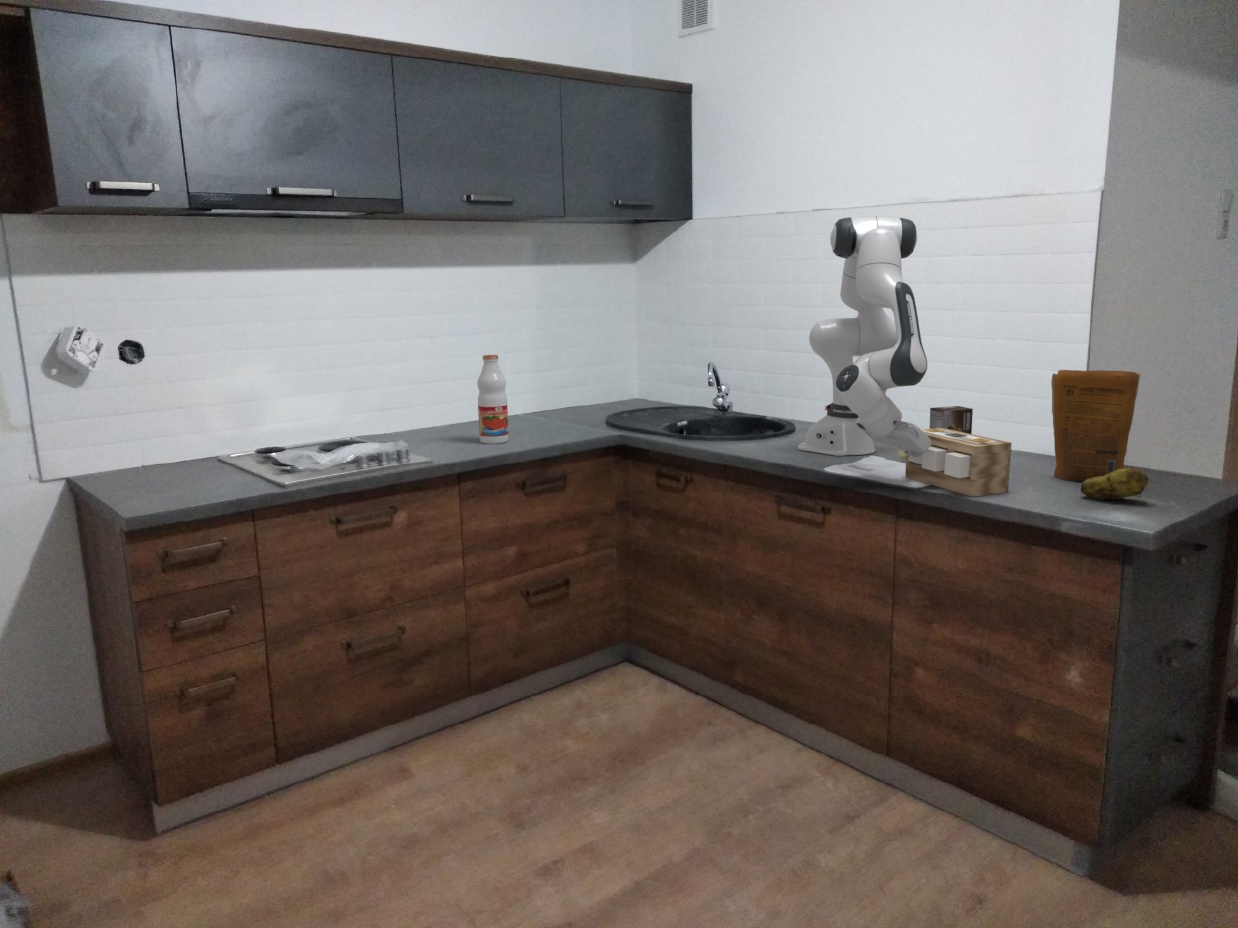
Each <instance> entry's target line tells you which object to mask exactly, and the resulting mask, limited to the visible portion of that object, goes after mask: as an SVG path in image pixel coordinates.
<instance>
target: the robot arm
mask: <svg viewBox="0 0 1238 928" xmlns="http://www.w3.org/2000/svg"><path fill="white" fill-rule="evenodd" d="M917 241H918V232H917V227H916V224H915V223H914V221H913V220H911V219H909V218H904V217H900V218H895V217H889V216H862V217H861V216H860V217H854V218H853V217H851V216H850V217H844V218H840V219H838V220H837V221H836V222H835V224H834V226H833V227H832V230H831V233H830V246H831V248H832V253H833V254H834V255H835V256H836V257H838V258H843V259H845V260H844V263H843V270H842V278H841V285H840V291H839V292H840V294H839V295H840V299H841V301H842V302H843V304H844V305H846V307H848V308H850V309H852V310H854V311H857V317H843V318H838V317H836V318H828V319H823V320H819V321H816V323H815V324H814V325H813V326H812V327H811V329H810V332H809V338H808V339H809V340H808V341H809V345H810V347H811V350H812V351H813V352H814V353H815V354H816V355H818V357H820V358H821V359H822V360H823V361H824V363H825V364H826V365H827V367H828V369H829V371H830V374H831V378H832V402H831V403H829V404H827V405H826V406H824V411H826V415H825V416H823V417H822V418H821V419H819V420H818V421H817V422H815V423H814V424H813V425H811V426H810V427H809V428H808V430H807V433H806V437H805V441H803V442H801V443H799V444H798V446H797V449H798V450H799V451H807V452H812V453H819V454H824V455H831V456H836V457H837V456H838V457H839V456H840V457H841V456H858V455H859V456H861V455H868V454H873V453H875V452H876V447H875V444H874V442H878V443H881V444H886V445H889V446H893V447H896V448H898V449H899V450H901V451H902V452H903V453H904V454H905V455H909V456H913V457H916V455H917V454H918V452H919V453H925V452H926V451H927V450H928V448H929V447H930V446H931V444H932V441H931V440H930V438H929V437H928V436H927V435H926V434H925V433H924V432H923V431H922V430H923V429H921V428H920V427H919V426H917V425H916V424H914V423H911V422H908V421H904V420H902V418H903V413H902V411H901V410H900V409H899V408H898V407H897V405H896V404H895V403H894V401H893V400H892V399H891V398H890V397H889V396H887V395H886V392H887V390H889V389H895V388H897V387H898V388H899V387H901V388H903V387H909V386H910V387H911V386H916V385H918V384H920V382H921V381H922V380H923V379H924V376H925V375H926V372H927V371H928V360H927V359H928V358H927V356H926V353H925V350H924V346H923V343H922V337H921V336H922V335H921V329H920V324H919V323H920V322H919V316H918V311H917V310H918V309H917V304H916V299H915V295H914V292H913V290H912V287H911V286H910V285H908V283H905V282H904V278H903V276H902V275H903V274H902V259H906V258H908V257H910V256H911V255H912V254H913V253H914V250H915V247H916V245H917V243H918V242H917ZM884 309H889V310H891V311H892V314H893V317H894V320H893V319H892V318H890V317H889V315H888V314H887V312H885V310H884ZM854 357H858V358H857V359H856V360H855V362H854Z"/></svg>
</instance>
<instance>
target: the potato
mask: <svg viewBox="0 0 1238 928" xmlns="http://www.w3.org/2000/svg"><path fill="white" fill-rule="evenodd" d="M1148 483H1149V477H1148V474H1146V473H1145V472H1143V471H1142V470H1141V469H1138V468H1136V467H1124V468H1121V469H1118V470H1115V471H1113V472H1110V473H1108V474H1106V475H1104V476H1098V477H1094V478H1090V479H1087V480H1085V481H1084V482H1081V486H1080V492H1081V493H1082V495H1084V496H1086V497H1087V498H1091V499H1094V498H1095V499H1101V500H1115V501H1116V500H1121V499H1125V498H1129V497H1133V496H1135V497H1136V496H1138V495H1142V493H1143V491H1144V490H1145V489H1146V487H1147V485H1148Z"/></svg>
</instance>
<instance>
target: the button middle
mask: <svg viewBox="0 0 1238 928" xmlns="http://www.w3.org/2000/svg"><path fill="white" fill-rule="evenodd" d="M946 453H948V448H944V447H939V446H935V447H929V448H928V450H927V451H926V452H925V453H922V468H924V469H928V470H932V471H935V472H936V471H944V469H945V454H946Z"/></svg>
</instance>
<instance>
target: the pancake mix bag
mask: <svg viewBox="0 0 1238 928" xmlns="http://www.w3.org/2000/svg"><path fill="white" fill-rule="evenodd" d="M1140 378H1141V374H1139V373H1137V372H1135V371H1128V370H1104V369H1103V370H1099V369H1098V370H1096V369H1095V370H1077V369H1075V370H1074V369H1073V370H1072V369H1058V371H1057V373H1052V375H1051V380H1050V381H1051V382H1050V385H1051V414H1052V426H1053V428H1052V429H1053V440H1054V441H1053V442H1054V454H1055V456H1054V457H1055V464H1056V465H1055V468H1054V472H1053V476H1054V477H1056V478H1057V477H1058V478H1057V479H1059V478H1060V479H1059V480H1062V479H1063V480H1064V481H1069V482H1070V481H1071V482H1080V483H1083V482H1084V481H1085V480H1087V479H1090V478H1094V477H1098V476H1104V475H1106V474H1108V473H1110V472H1113V471H1115V470H1118V469H1121V468H1125V467H1124V466H1125V465H1124V464H1125V458H1126V455H1127V451H1128V443H1129V436H1130V431H1131V428H1132V426H1133V425H1132V424H1133V418H1134V414H1135V407H1136V400H1137V396H1138V392H1139V386H1140Z"/></svg>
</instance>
